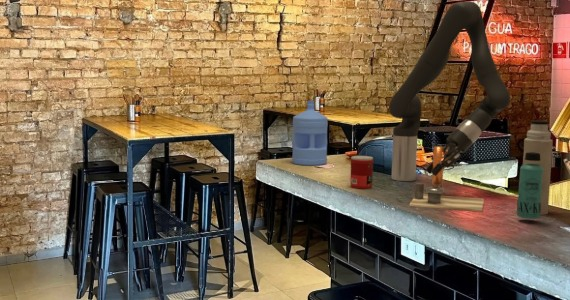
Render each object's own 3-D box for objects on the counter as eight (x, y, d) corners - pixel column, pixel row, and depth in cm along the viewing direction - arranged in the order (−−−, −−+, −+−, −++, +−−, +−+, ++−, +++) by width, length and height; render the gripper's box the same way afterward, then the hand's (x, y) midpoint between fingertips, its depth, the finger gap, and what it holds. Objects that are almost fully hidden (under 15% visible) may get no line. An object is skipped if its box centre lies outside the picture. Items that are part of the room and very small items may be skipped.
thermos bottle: (519, 208, 203) (525, 119, 200) (547, 210, 201) (553, 120, 197) (520, 213, 196) (525, 121, 192) (548, 215, 193) (554, 122, 190)
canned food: (371, 189, 231) (372, 159, 230) (349, 188, 233) (349, 158, 231) (373, 185, 238) (373, 156, 237) (351, 184, 240) (352, 155, 239)
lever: (443, 203, 204) (445, 153, 202) (423, 202, 206) (425, 152, 204) (446, 193, 220) (448, 147, 218) (428, 192, 222) (430, 146, 219)
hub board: (416, 195, 221) (417, 179, 221) (484, 200, 214) (484, 183, 214) (409, 206, 204) (409, 188, 204) (482, 211, 197) (483, 193, 197)
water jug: (290, 160, 298) (290, 99, 295) (323, 160, 300) (325, 100, 296) (294, 166, 283) (295, 101, 279) (329, 165, 285) (331, 102, 281)
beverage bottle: (512, 218, 189) (516, 150, 186) (534, 218, 189) (538, 150, 187) (522, 224, 182) (526, 154, 180) (544, 224, 183) (549, 154, 180)
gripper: (447, 126, 225) (414, 162, 223) (467, 130, 211) (432, 168, 210) (461, 141, 226) (428, 177, 225) (482, 145, 213) (446, 183, 212)
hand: (430, 172), depth 217 cm, fingers closed on lever, 3 cm apart
